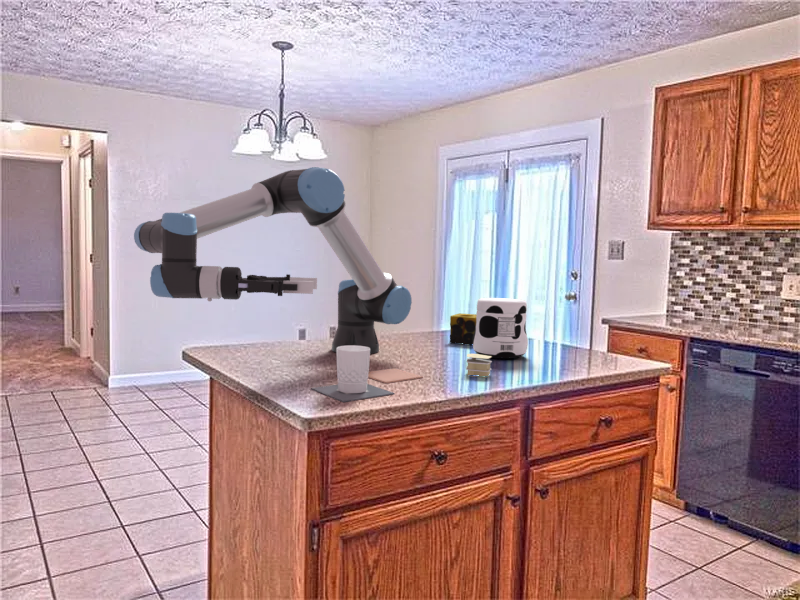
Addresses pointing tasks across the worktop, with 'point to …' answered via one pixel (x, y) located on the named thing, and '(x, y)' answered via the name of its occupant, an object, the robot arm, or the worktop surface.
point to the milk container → (500, 328)
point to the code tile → (346, 397)
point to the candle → (462, 328)
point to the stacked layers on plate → (478, 365)
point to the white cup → (352, 368)
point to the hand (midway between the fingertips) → (315, 285)
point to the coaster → (392, 375)
